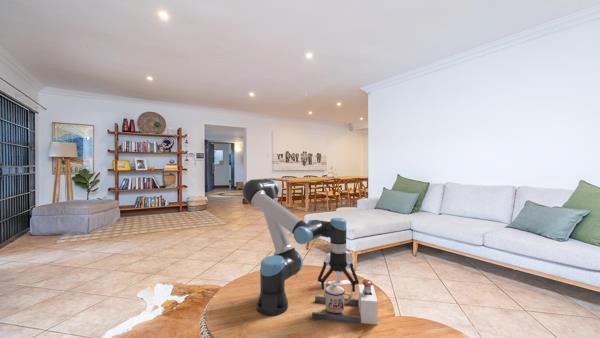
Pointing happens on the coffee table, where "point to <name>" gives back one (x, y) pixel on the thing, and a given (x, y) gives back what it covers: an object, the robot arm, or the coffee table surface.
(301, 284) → the coffee table surface
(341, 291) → the teacup with lid
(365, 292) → the red knob
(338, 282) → the heart sculpture
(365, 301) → the end cabinet
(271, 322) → the coffee table surface
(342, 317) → the pair of grey rails
